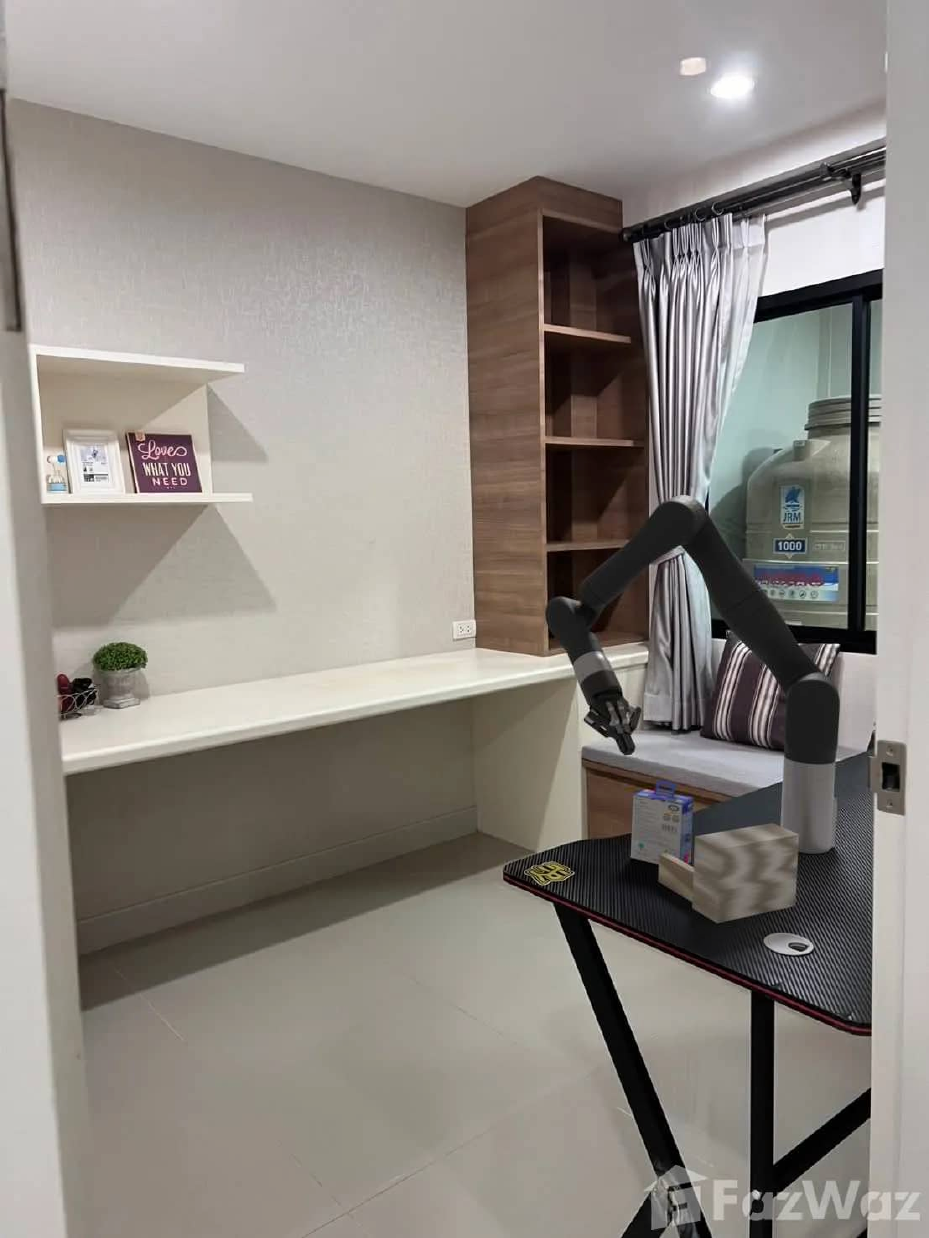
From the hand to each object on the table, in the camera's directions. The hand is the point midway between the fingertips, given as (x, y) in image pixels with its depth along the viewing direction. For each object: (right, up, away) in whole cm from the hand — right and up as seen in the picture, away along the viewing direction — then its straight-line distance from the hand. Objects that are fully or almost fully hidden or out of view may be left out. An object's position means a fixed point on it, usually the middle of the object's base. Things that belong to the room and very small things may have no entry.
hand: (629, 753), depth 177 cm
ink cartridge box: (+4, -19, -8) cm, 21 cm away
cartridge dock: (+11, -20, -22) cm, 32 cm away
